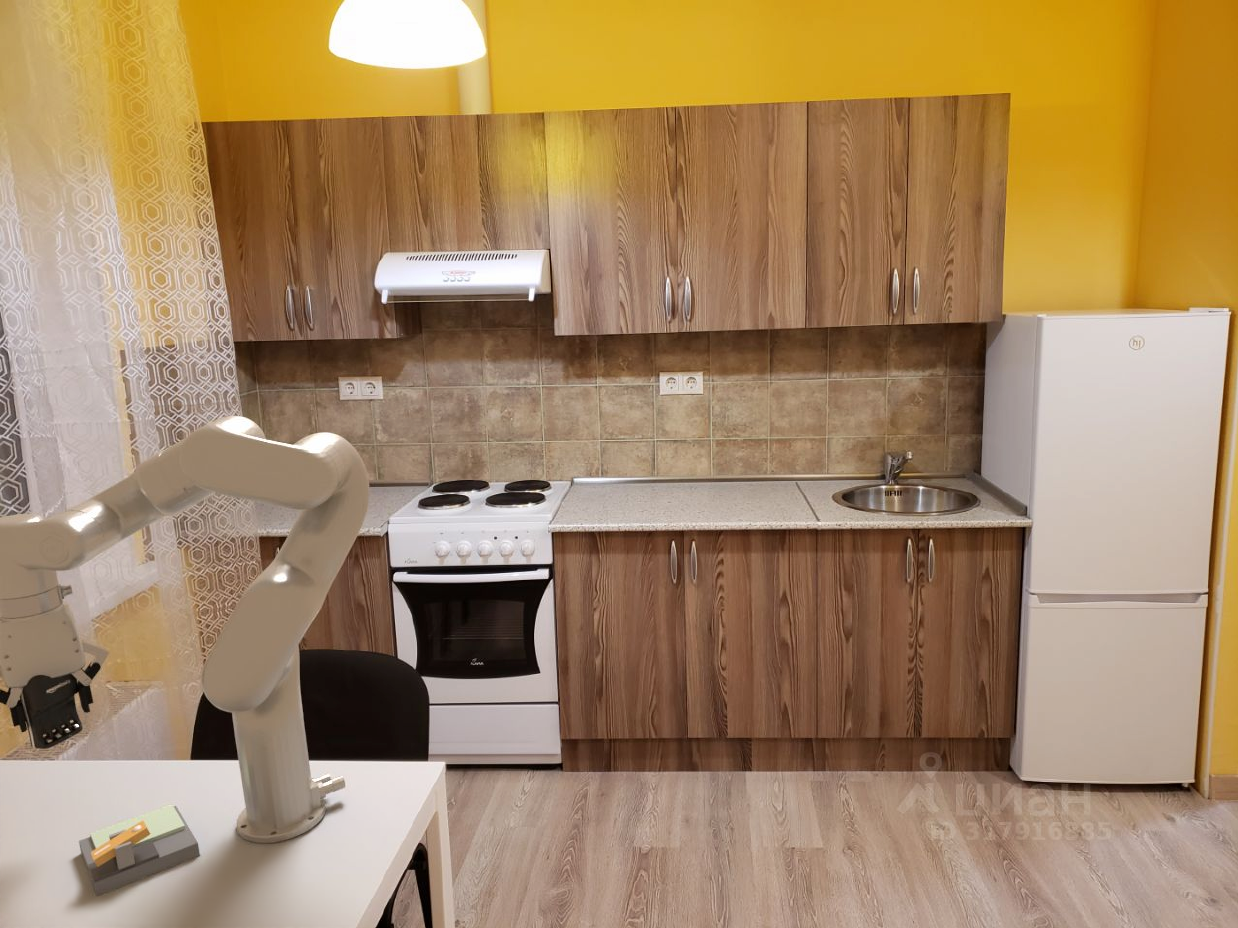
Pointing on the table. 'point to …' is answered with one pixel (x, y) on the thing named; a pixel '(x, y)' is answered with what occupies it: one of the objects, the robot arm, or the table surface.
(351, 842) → the table surface
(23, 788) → the table surface
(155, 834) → the grey holder stand
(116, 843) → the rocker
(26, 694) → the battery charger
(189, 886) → the table surface
